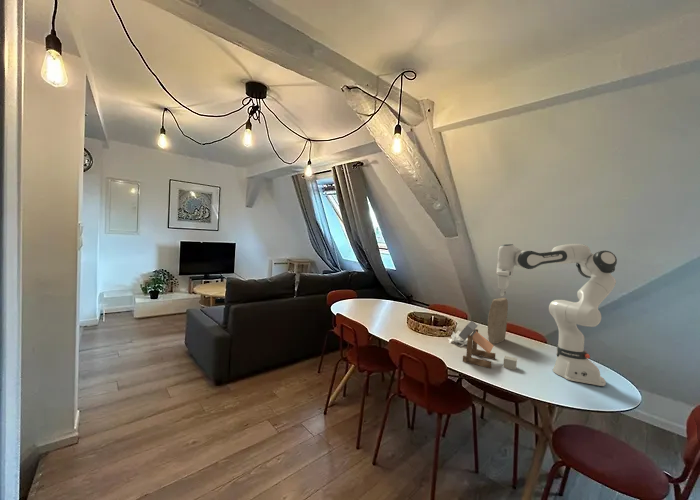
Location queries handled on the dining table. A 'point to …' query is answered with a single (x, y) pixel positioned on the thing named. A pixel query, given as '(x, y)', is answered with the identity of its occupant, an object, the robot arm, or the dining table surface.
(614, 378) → the dining table surface
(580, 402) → the dining table surface
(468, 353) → the frame
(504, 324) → the stone tablet
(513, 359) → the stone
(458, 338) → the lotus flower
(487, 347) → the hammer
